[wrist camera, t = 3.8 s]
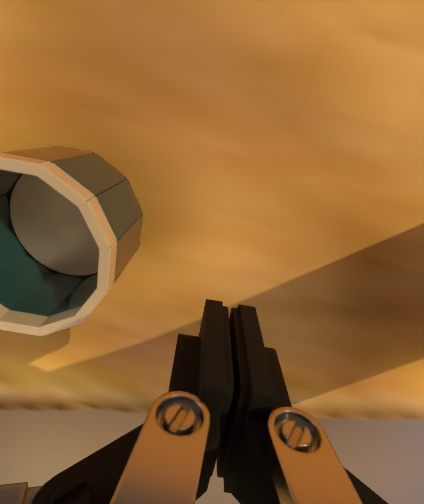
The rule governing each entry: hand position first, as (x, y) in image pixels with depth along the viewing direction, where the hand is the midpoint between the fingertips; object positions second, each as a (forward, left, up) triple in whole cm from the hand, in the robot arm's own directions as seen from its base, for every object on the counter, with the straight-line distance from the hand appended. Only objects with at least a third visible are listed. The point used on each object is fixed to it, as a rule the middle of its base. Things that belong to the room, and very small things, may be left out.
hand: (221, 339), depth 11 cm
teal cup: (+9, 0, -9) cm, 13 cm away
